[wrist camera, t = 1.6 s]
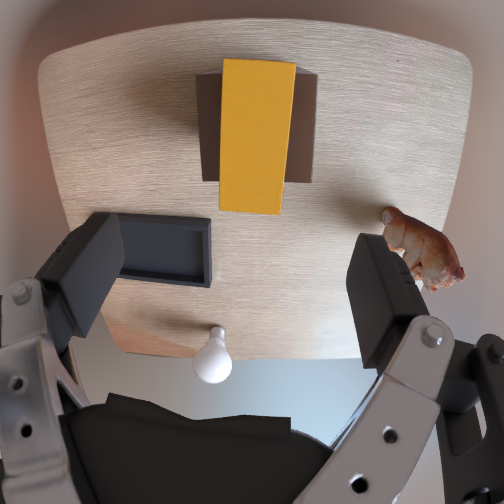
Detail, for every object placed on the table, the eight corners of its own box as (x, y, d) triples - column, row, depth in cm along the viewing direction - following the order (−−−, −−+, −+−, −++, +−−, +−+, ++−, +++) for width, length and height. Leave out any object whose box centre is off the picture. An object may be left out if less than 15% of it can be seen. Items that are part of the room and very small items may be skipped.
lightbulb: (222, 312, 52) (213, 366, 43) (243, 333, 55) (237, 386, 46) (194, 323, 54) (181, 374, 45) (214, 343, 57) (206, 392, 48)
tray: (101, 212, 42) (94, 219, 40) (210, 218, 41) (208, 226, 40) (114, 268, 48) (109, 276, 46) (212, 278, 48) (209, 288, 46)
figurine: (367, 233, 41) (398, 313, 29) (388, 186, 37) (436, 255, 25) (402, 243, 42) (440, 319, 30) (425, 199, 37) (477, 268, 25)
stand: (222, 141, 35) (202, 181, 25) (220, 67, 30) (195, 74, 20) (300, 143, 35) (311, 183, 25) (302, 68, 29) (317, 74, 20)
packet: (230, 58, 19) (223, 58, 16) (292, 62, 19) (296, 63, 16) (225, 190, 26) (219, 210, 23) (279, 194, 26) (279, 215, 23)
